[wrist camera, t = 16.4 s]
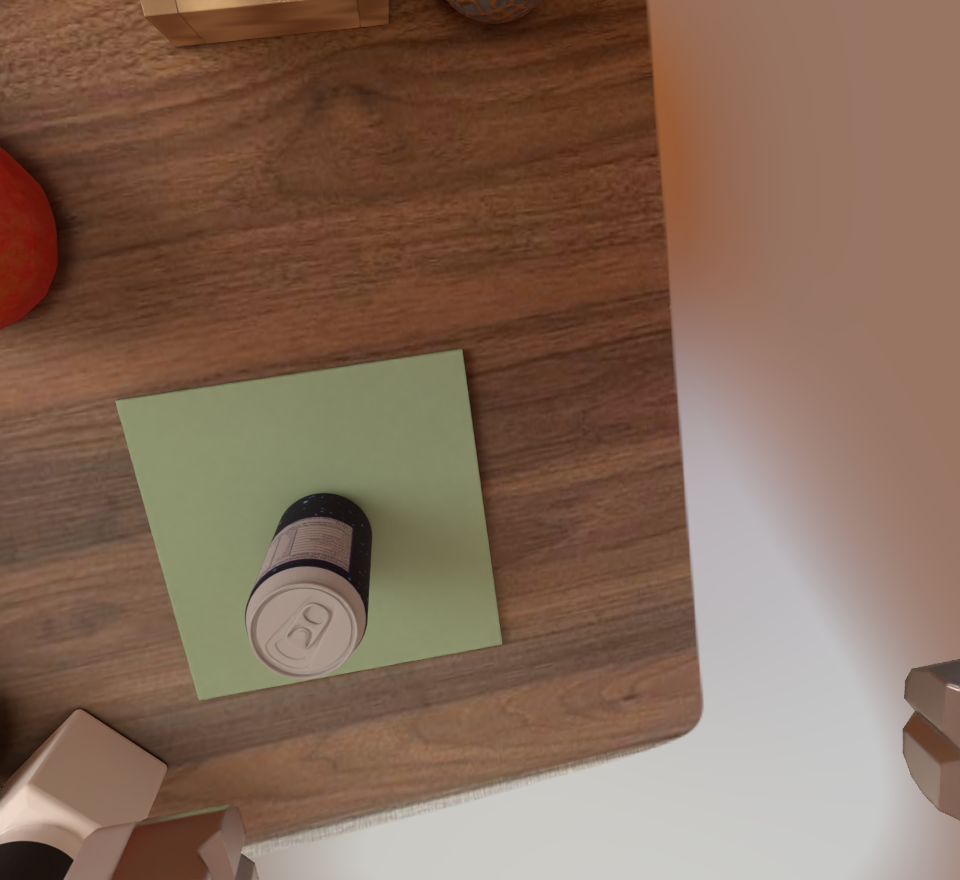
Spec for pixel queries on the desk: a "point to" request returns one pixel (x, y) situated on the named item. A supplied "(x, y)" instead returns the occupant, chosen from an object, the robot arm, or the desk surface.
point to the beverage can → (312, 588)
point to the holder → (258, 18)
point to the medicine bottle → (72, 796)
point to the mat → (310, 470)
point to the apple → (24, 241)
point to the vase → (494, 9)
